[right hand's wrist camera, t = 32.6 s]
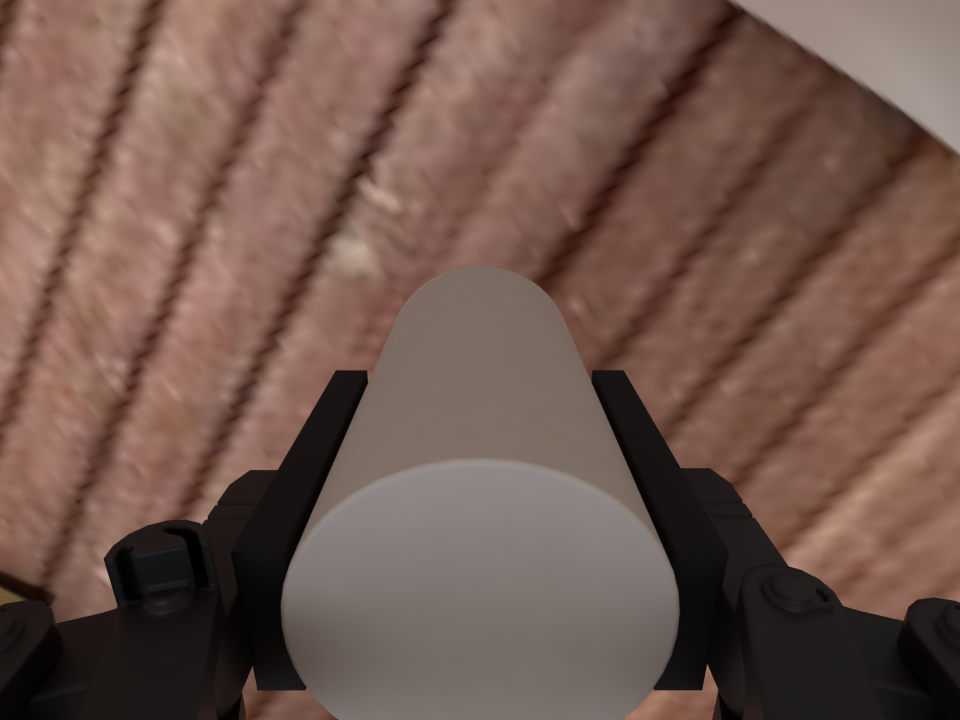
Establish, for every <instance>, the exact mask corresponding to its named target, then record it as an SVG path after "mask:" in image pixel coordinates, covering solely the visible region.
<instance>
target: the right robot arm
mask: <svg viewBox="0 0 960 720" xmlns="http://www.w3.org/2000/svg"><path fill="white" fill-rule="evenodd" d="M367 384H368V377H367V370H336V371H335V373H334V375H333V376H332V378H331V380H330V382H329V383H328V385H327V387H326V388H325V390H324V392H323V394H322V395H321V397H320V399H319V400H318V402H317V404H316V406H315V407H314V409H313V411H312V412H311V414H310V416H309V418H308V419H307V421H306V423H305V424H304V426H303V428H302V430H301V431H300V433H299V435H298V436H297V438H296V440H295V442H294V443H293V445H292V447H291V448H290V450H289V452H288V454H287V455H286V457H285V459H284V460H283V462H282V464H281V466H280V467H279V469H278V470H250V471H248V472H247V473H246V474H244V475H243V476H241V477H240V478H239V479H237V480H236V481H234V482H233V483H232V484H230V485H229V486H228V488H227V489H226V491H225V492H224V494H223V495H222V497H221V498H220V499H219V501H218V505H215V507H214V508H213V509H212V511H211V512H210V514H209V515H208V519H207V520H205V521H204V522H203V524H202V525H201V524H200V523H197V522H193V521H189V520H169V521H164V522H160V523H156V524H152V525H148V526H146V527H143V528H141V529H139V530H137V531H135V532H133V533H130V534H128V535H127V536H126V537H124V538H123V539H122V540H120V541H119V542H118V543H116V544H115V545H114V546H113V547H112V548H111V549H110V551H109V552H108V553H107V555H106V556H105V557H104V561H105V565H106V568H107V572H108V575H109V578H110V582H111V585H112V588H113V592H114V595H115V598H116V602H117V605H118V606H117V609H114V610H110V611H107V612H104V613H100V614H95V615H91V616H87V617H82V618H78V619H74V620H70V621H65V622H61V623H56V620H55V617H54V614H53V611H52V609H51V608H49V607H48V606H47V605H46V604H44V603H43V602H38V601H30V600H24V601H17V602H11V603H5V604H2V605H0V720H245V719H246V711H245V705H244V699H243V694H242V690H243V687H244V685H245V682H246V680H247V678H248V675H249V673H250V671H251V668H252V666H253V669H254V674H255V679H256V684H257V689H258V690H306V686H305V684H304V683H303V681H302V680H301V678H300V676H299V674H298V673H297V671H296V669H295V668H294V666H293V663H292V661H291V658H290V656H289V653H288V650H287V648H286V643H285V639H284V634H283V630H282V619H281V599H282V592H283V584H284V581H285V578H286V574H287V571H288V568H289V565H290V562H291V560H292V558H293V555H294V553H295V551H296V548H297V546H298V544H299V541H300V539H301V537H302V535H303V532H304V530H305V528H306V525H307V523H308V521H309V518H310V516H311V514H312V511H313V509H314V507H315V505H316V502H317V500H318V498H319V495H320V493H321V491H322V488H323V486H324V484H325V481H326V479H327V477H328V475H329V472H330V470H331V468H332V465H333V463H334V461H335V458H336V456H337V454H338V451H339V449H340V447H341V445H342V442H343V440H344V438H345V435H346V433H347V431H348V428H349V426H350V424H351V421H352V419H353V417H354V415H355V412H356V410H357V408H358V405H359V403H360V401H361V398H362V396H363V394H364V391H365V389H366V387H367ZM592 385H593V387H594V390H595V392H596V394H597V396H598V399H599V401H600V403H601V406H602V408H603V410H604V413H605V415H606V417H607V419H608V422H609V424H610V426H611V429H612V431H613V433H614V435H615V438H616V440H617V442H618V445H619V447H620V449H621V452H622V454H623V456H624V458H625V461H626V463H627V465H628V468H629V470H630V472H631V475H632V477H633V479H634V481H635V484H636V486H637V488H638V491H639V493H640V495H641V497H642V500H643V502H644V504H645V507H646V509H647V511H648V514H649V516H650V518H651V520H652V523H653V525H654V527H655V530H656V532H657V534H658V536H659V539H660V541H661V543H662V546H663V548H664V550H665V553H666V555H667V557H668V560H669V562H670V564H671V567H672V569H673V571H674V575H675V579H676V584H677V588H678V592H679V608H680V614H679V623H678V632H677V638H676V641H675V645H674V648H673V652H672V655H671V657H670V659H669V661H668V664H667V666H666V668H665V670H664V672H663V674H662V675H661V677H660V678H659V680H658V681H657V683H656V684H655V686H654V687H653V688H654V690H702V688H703V682H704V677H705V672H706V667H707V664H708V666H709V669H710V671H711V673H712V676H713V678H714V680H715V683H716V685H717V688H718V694H717V699H716V704H715V709H714V713H713V718H712V720H960V603H959V602H957V601H953V600H946V599H940V598H926V599H919V600H917V601H915V602H914V603H913V604H912V605H910V606H909V607H908V610H907V613H906V616H905V618H904V621H901V620H897V619H892V618H888V617H884V616H879V615H875V614H871V613H866V612H862V611H858V610H854V609H851V608H848V607H844V606H843V605H842V604H841V602H840V601H839V599H838V597H837V596H836V594H835V593H834V591H832V590H831V589H830V588H829V587H828V586H826V585H825V584H824V583H823V582H822V581H821V580H819V579H818V578H816V577H814V576H812V575H810V574H808V573H806V572H804V571H802V570H799V569H796V568H793V567H789V566H788V565H787V563H786V562H785V561H784V559H783V558H782V556H781V555H780V553H779V552H778V551H777V549H776V548H775V546H774V545H773V543H772V542H771V540H770V539H769V538H768V536H767V535H766V533H765V532H764V530H763V529H762V528H761V526H760V525H759V523H758V522H757V520H756V519H755V518H752V513H751V512H750V510H749V509H748V508H747V506H746V505H745V504H743V503H742V499H741V498H740V496H739V495H738V493H737V492H736V490H735V489H734V488H733V486H732V485H731V483H730V482H728V481H727V480H725V479H724V478H723V477H721V476H720V475H718V474H717V473H716V472H714V471H713V470H711V469H710V468H680V466H679V465H678V463H677V461H676V459H675V458H674V456H673V454H672V453H671V451H670V449H669V447H668V446H667V444H666V442H665V441H664V439H663V437H662V435H661V434H660V432H659V430H658V429H657V427H656V425H655V423H654V422H653V420H652V418H651V417H650V415H649V413H648V411H647V410H646V408H645V406H644V405H643V403H642V401H641V399H640V398H639V396H638V394H637V393H636V391H635V389H634V387H633V386H632V384H631V382H630V381H629V379H628V377H627V375H626V374H625V372H624V370H593V372H592Z"/></svg>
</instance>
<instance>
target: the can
mask: <svg viewBox="0 0 960 720" xmlns="http://www.w3.org/2000/svg"><path fill="white" fill-rule="evenodd" d="M679 614H680V608H679V592H678V588H677V584H676V579H675V575H674V571H673V569H672V567H671V564H670V562H669V560H668V557H667V555H666V553H665V550H664V548H663V546H662V543H661V541H660V539H659V536H658V534H657V532H656V530H655V527H654V525H653V523H652V520H651V518H650V516H649V514H648V511H647V509H646V507H645V504H644V502H643V500H642V497H641V495H640V493H639V491H638V488H637V486H636V484H635V481H634V479H633V477H632V475H631V472H630V470H629V468H628V465H627V463H626V461H625V458H624V456H623V454H622V452H621V449H620V447H619V445H618V442H617V440H616V438H615V435H614V433H613V431H612V429H611V426H610V424H609V422H608V419H607V417H606V415H605V413H604V410H603V408H602V406H601V403H600V401H599V399H598V396H597V394H596V392H595V390H594V387H593V385H592V383H591V380H590V378H589V376H588V374H587V371H586V369H585V367H584V364H583V362H582V360H581V357H580V355H579V353H578V351H577V348H576V346H575V344H574V341H573V339H572V337H571V335H570V332H569V330H568V328H567V325H566V323H565V321H564V318H563V316H562V314H561V312H560V311H559V309H558V307H557V306H556V304H555V303H554V301H553V300H552V299H551V298H550V297H549V295H548V294H547V293H546V292H545V291H543V290H542V289H541V288H540V287H539V286H538V285H536V284H535V283H533V282H532V281H531V280H529V279H527V278H525V277H523V276H521V275H520V274H517V273H515V272H512V271H509V270H506V269H501V268H497V267H489V266H469V267H463V268H457V269H454V270H451V271H448V272H445V273H443V274H441V275H438V276H436V277H434V278H433V279H431V280H429V281H428V282H426V283H425V284H423V285H422V286H421V287H420V288H419V289H417V290H416V291H415V292H414V293H413V294H412V295H411V296H410V298H409V299H408V300H407V301H406V302H405V304H404V305H403V307H402V308H401V310H400V312H399V314H398V316H397V318H396V320H395V322H394V324H393V327H392V329H391V331H390V334H389V336H388V338H387V341H386V343H385V345H384V348H383V350H382V352H381V354H380V357H379V359H378V361H377V364H376V366H375V368H374V371H373V373H372V375H371V378H370V380H369V382H368V384H367V387H366V389H365V391H364V394H363V396H362V398H361V401H360V403H359V405H358V408H357V410H356V412H355V415H354V417H353V419H352V421H351V424H350V426H349V428H348V431H347V433H346V435H345V438H344V440H343V442H342V445H341V447H340V449H339V451H338V454H337V456H336V458H335V461H334V463H333V465H332V468H331V470H330V472H329V475H328V477H327V479H326V481H325V484H324V486H323V488H322V491H321V493H320V495H319V498H318V500H317V502H316V505H315V507H314V509H313V511H312V514H311V516H310V518H309V521H308V523H307V525H306V528H305V530H304V532H303V535H302V537H301V539H300V541H299V544H298V546H297V548H296V551H295V553H294V555H293V558H292V560H291V562H290V565H289V568H288V571H287V574H286V578H285V581H284V584H283V592H282V599H281V619H282V630H283V634H284V639H285V643H286V648H287V650H288V653H289V656H290V658H291V661H292V663H293V666H294V668H295V669H296V671H297V673H298V674H299V676H300V678H301V680H302V681H303V683H304V684H305V686H306V687H307V688H308V689H309V691H310V692H311V693H312V694H313V696H314V697H315V698H316V700H317V701H319V702H320V703H321V704H322V705H323V706H324V707H325V708H326V709H327V710H328V711H329V712H330V713H331V714H332V715H333V716H335V717H336V718H337V719H339V720H622V719H623V718H624V717H626V716H627V715H628V714H629V713H630V712H631V711H632V710H634V709H635V708H636V707H637V706H638V705H639V704H640V703H641V702H642V701H643V699H644V698H645V697H646V696H647V695H648V694H649V693H650V691H651V690H652V689H653V687H654V686H655V684H656V683H657V681H658V680H659V678H660V677H661V675H662V674H663V672H664V670H665V668H666V666H667V664H668V661H669V659H670V657H671V655H672V652H673V648H674V645H675V641H676V638H677V632H678V623H679Z"/></svg>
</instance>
